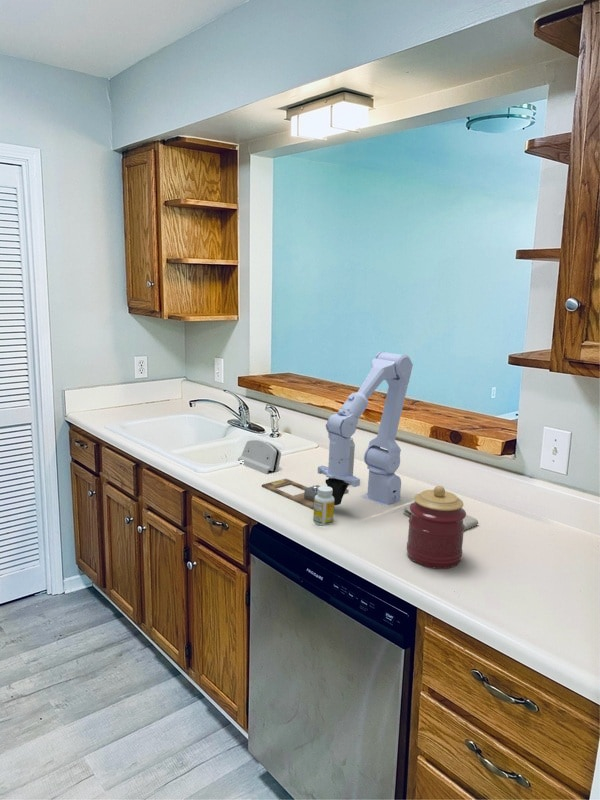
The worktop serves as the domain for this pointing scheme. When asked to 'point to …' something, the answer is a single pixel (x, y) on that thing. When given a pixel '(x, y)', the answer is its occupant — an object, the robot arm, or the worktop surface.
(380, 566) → the worktop surface
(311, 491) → the metal block with knob
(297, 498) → the board
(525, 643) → the worktop surface
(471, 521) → the washcloth
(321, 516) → the supplement bottle
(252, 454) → the hinge
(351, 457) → the energy drink can
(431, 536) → the canister
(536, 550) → the worktop surface
